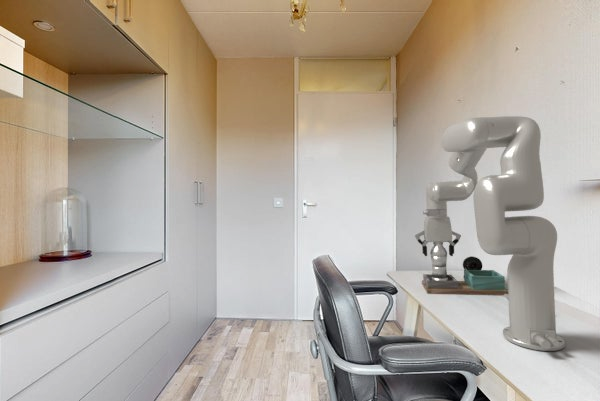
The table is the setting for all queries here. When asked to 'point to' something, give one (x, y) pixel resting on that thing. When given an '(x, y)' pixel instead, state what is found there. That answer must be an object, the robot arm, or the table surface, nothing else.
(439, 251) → the metal bottle
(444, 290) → the sorting tray
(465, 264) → the webcam
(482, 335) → the table surface
